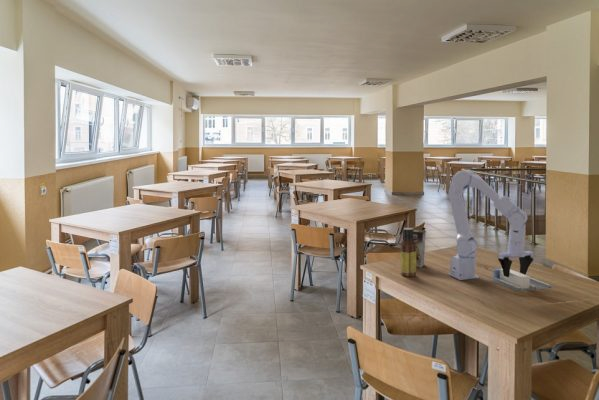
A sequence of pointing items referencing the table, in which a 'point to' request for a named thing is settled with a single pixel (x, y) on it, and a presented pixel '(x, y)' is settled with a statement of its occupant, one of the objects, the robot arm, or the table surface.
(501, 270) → the cream rectangular block
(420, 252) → the coffee box
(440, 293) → the table surface
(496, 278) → the board
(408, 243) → the sauce bottle
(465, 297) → the table surface
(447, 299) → the table surface
